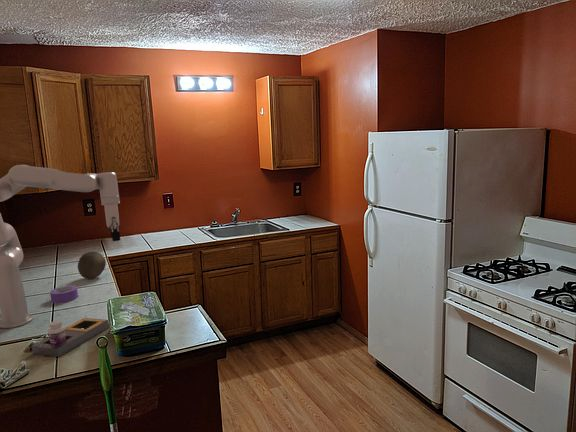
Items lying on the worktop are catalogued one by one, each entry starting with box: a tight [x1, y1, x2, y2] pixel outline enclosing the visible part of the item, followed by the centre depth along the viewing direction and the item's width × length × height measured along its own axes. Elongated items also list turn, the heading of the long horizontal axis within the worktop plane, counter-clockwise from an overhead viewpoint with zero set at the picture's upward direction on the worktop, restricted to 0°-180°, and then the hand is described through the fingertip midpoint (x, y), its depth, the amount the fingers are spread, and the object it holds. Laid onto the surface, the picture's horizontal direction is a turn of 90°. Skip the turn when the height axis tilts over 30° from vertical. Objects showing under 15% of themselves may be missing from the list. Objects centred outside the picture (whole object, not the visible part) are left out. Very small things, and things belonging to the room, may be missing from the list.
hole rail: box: [31, 317, 110, 358], centre depth 167 cm, size 12×25×3 cm, turn 161°
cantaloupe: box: [77, 251, 107, 280], centre depth 247 cm, size 14×14×15 cm
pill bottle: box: [47, 320, 66, 345], centre depth 160 cm, size 5×5×10 cm
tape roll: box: [49, 285, 79, 304], centre depth 215 cm, size 12×12×5 cm
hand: (115, 238), depth 197 cm, fingers open, 9 cm apart
